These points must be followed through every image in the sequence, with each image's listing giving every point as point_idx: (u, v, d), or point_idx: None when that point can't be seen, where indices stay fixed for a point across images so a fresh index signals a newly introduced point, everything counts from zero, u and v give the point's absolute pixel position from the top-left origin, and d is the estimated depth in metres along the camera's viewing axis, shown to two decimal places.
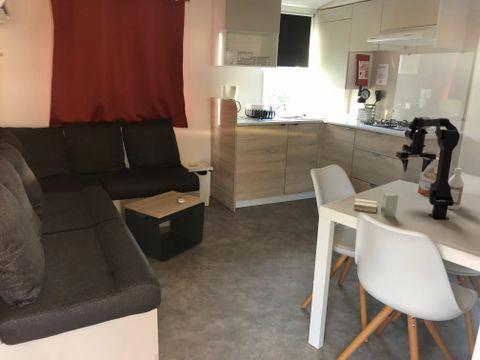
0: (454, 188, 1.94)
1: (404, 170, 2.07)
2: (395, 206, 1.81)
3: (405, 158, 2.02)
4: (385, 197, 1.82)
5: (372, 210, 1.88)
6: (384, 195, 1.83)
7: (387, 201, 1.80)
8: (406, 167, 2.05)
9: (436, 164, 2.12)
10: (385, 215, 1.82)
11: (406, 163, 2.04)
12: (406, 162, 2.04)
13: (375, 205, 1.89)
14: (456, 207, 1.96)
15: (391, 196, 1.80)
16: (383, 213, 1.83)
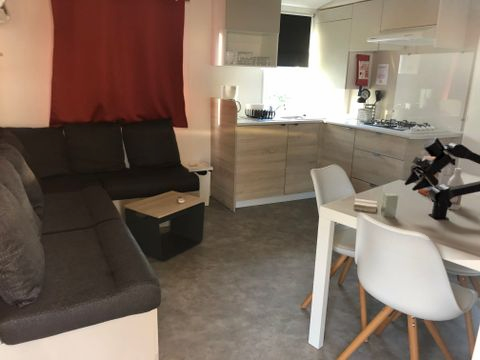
0: None
1: (414, 189, 1.76)
2: (395, 206, 1.81)
3: None
4: (385, 197, 1.82)
5: (372, 210, 1.88)
6: (384, 195, 1.83)
7: (387, 201, 1.80)
8: (419, 188, 1.76)
9: None
10: (385, 215, 1.82)
11: None
12: None
13: (375, 205, 1.89)
14: (456, 207, 1.96)
15: (391, 196, 1.80)
16: (383, 213, 1.83)
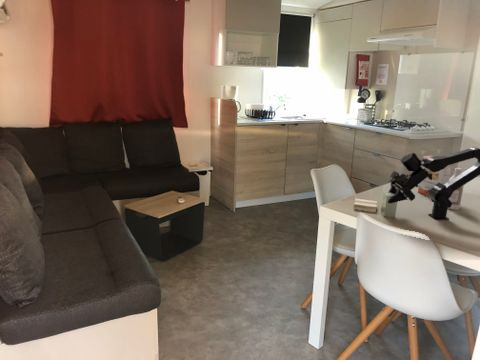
0: None
1: (389, 202, 1.80)
2: (395, 206, 1.81)
3: None
4: (385, 197, 1.82)
5: (372, 210, 1.88)
6: (384, 195, 1.83)
7: (387, 201, 1.80)
8: (395, 201, 1.80)
9: None
10: (385, 215, 1.82)
11: None
12: None
13: (375, 205, 1.89)
14: (456, 207, 1.96)
15: (391, 196, 1.80)
16: (383, 213, 1.83)
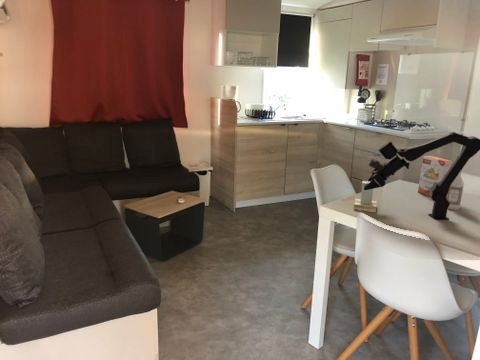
0: (454, 188, 1.94)
1: (365, 188, 1.87)
2: (371, 194, 1.89)
3: None
4: (362, 185, 1.91)
5: (372, 210, 1.88)
6: None
7: (363, 189, 1.90)
8: (370, 188, 1.86)
9: (436, 164, 2.12)
10: (361, 202, 1.91)
11: None
12: None
13: (375, 205, 1.89)
14: (456, 207, 1.96)
15: None
16: None
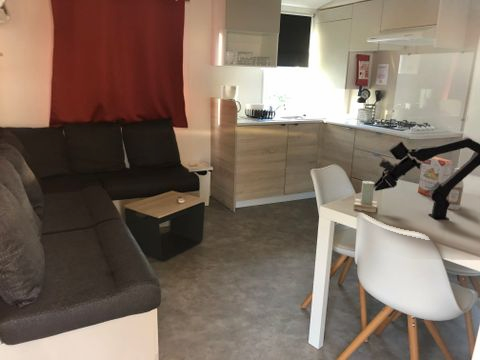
0: (454, 188, 1.94)
1: (376, 189, 1.85)
2: (372, 194, 1.89)
3: None
4: (362, 185, 1.91)
5: (372, 210, 1.88)
6: (362, 183, 1.92)
7: (363, 189, 1.89)
8: None
9: (436, 164, 2.12)
10: (362, 202, 1.91)
11: None
12: None
13: (375, 205, 1.89)
14: (456, 207, 1.96)
15: (367, 184, 1.89)
16: (361, 200, 1.92)
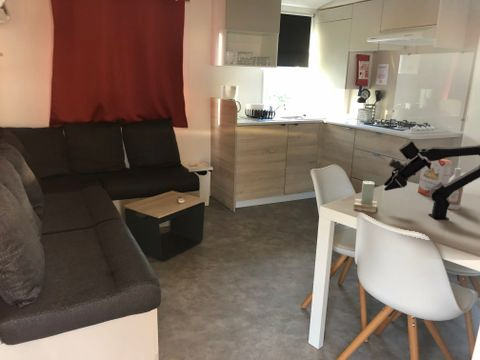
0: None
1: (385, 189, 1.84)
2: (372, 194, 1.89)
3: None
4: None
5: (372, 210, 1.88)
6: None
7: (364, 189, 1.89)
8: None
9: (436, 164, 2.12)
10: (362, 202, 1.91)
11: None
12: None
13: (375, 205, 1.89)
14: (456, 207, 1.96)
15: (368, 184, 1.88)
16: (361, 200, 1.92)
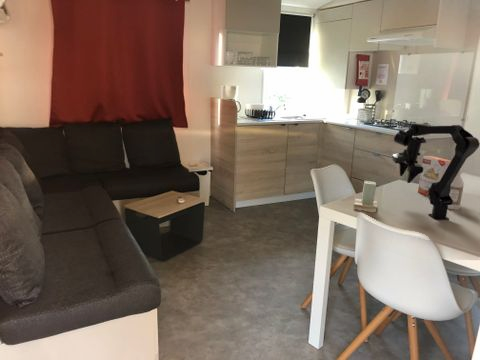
0: (454, 188, 1.94)
1: (408, 182, 1.94)
2: (373, 194, 1.89)
3: None
4: (364, 185, 1.90)
5: (372, 210, 1.88)
6: (364, 183, 1.91)
7: (365, 189, 1.89)
8: (412, 178, 1.94)
9: (436, 164, 2.12)
10: (363, 202, 1.91)
11: None
12: None
13: (375, 205, 1.89)
14: (456, 207, 1.96)
15: (369, 184, 1.88)
16: (362, 200, 1.92)
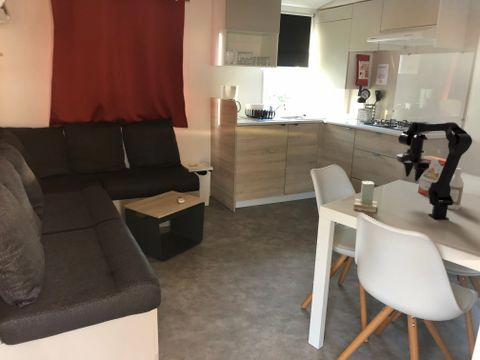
0: (454, 188, 1.94)
1: (416, 180, 1.95)
2: (372, 194, 1.89)
3: None
4: (362, 185, 1.90)
5: (372, 210, 1.88)
6: (362, 183, 1.91)
7: (364, 190, 1.89)
8: None
9: (436, 164, 2.12)
10: (362, 202, 1.91)
11: None
12: None
13: (375, 205, 1.89)
14: (456, 207, 1.96)
15: (367, 184, 1.88)
16: (361, 201, 1.92)
